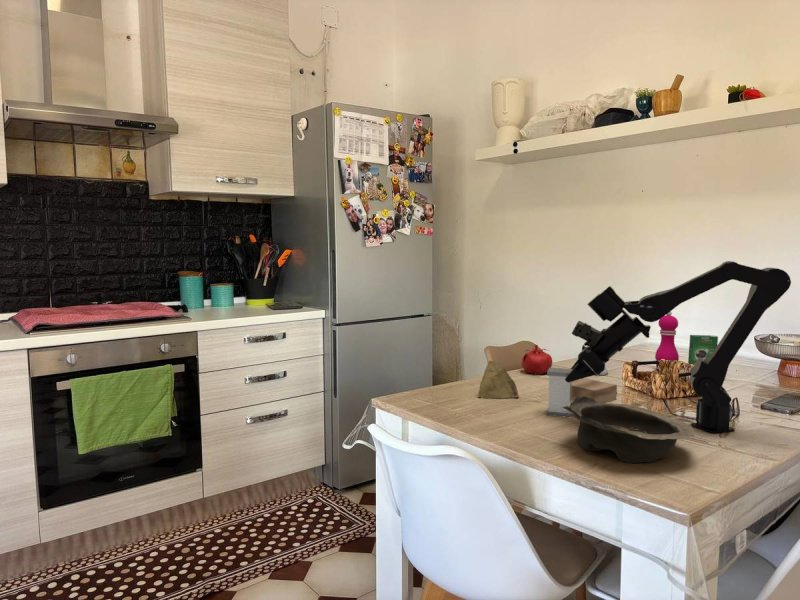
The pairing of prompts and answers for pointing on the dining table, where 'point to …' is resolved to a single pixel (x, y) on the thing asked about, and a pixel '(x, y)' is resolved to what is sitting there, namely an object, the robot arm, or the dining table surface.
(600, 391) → the stand
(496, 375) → the rock
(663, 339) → the pepper mill
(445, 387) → the dining table surface
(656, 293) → the robot arm
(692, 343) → the coffee box
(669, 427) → the stone bowl
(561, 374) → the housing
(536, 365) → the pomegranate
